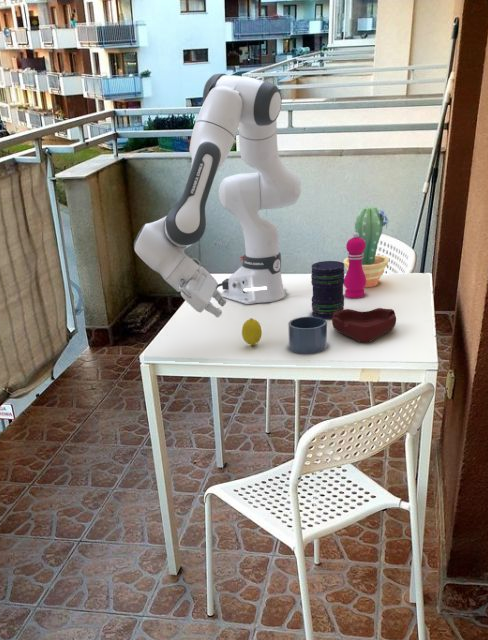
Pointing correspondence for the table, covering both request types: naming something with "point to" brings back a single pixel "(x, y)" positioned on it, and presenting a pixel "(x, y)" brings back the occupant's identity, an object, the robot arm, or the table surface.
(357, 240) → the pepper mill
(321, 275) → the dark blue barrel
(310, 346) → the cup
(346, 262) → the potted cactus
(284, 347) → the table surface
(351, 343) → the table surface
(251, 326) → the lemon
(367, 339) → the ashtray
